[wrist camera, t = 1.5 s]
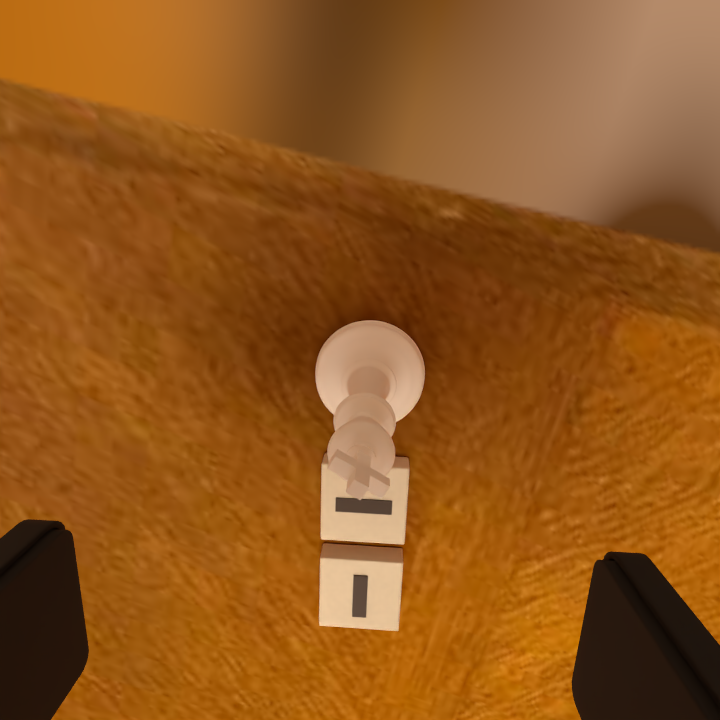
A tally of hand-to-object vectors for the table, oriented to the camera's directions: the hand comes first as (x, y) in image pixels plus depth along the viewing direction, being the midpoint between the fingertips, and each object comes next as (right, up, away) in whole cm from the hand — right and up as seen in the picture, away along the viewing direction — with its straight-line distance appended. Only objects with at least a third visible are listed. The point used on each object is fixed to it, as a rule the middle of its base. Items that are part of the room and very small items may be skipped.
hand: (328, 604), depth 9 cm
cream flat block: (+1, -4, +16) cm, 16 cm away
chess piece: (+1, +4, +13) cm, 14 cm away
